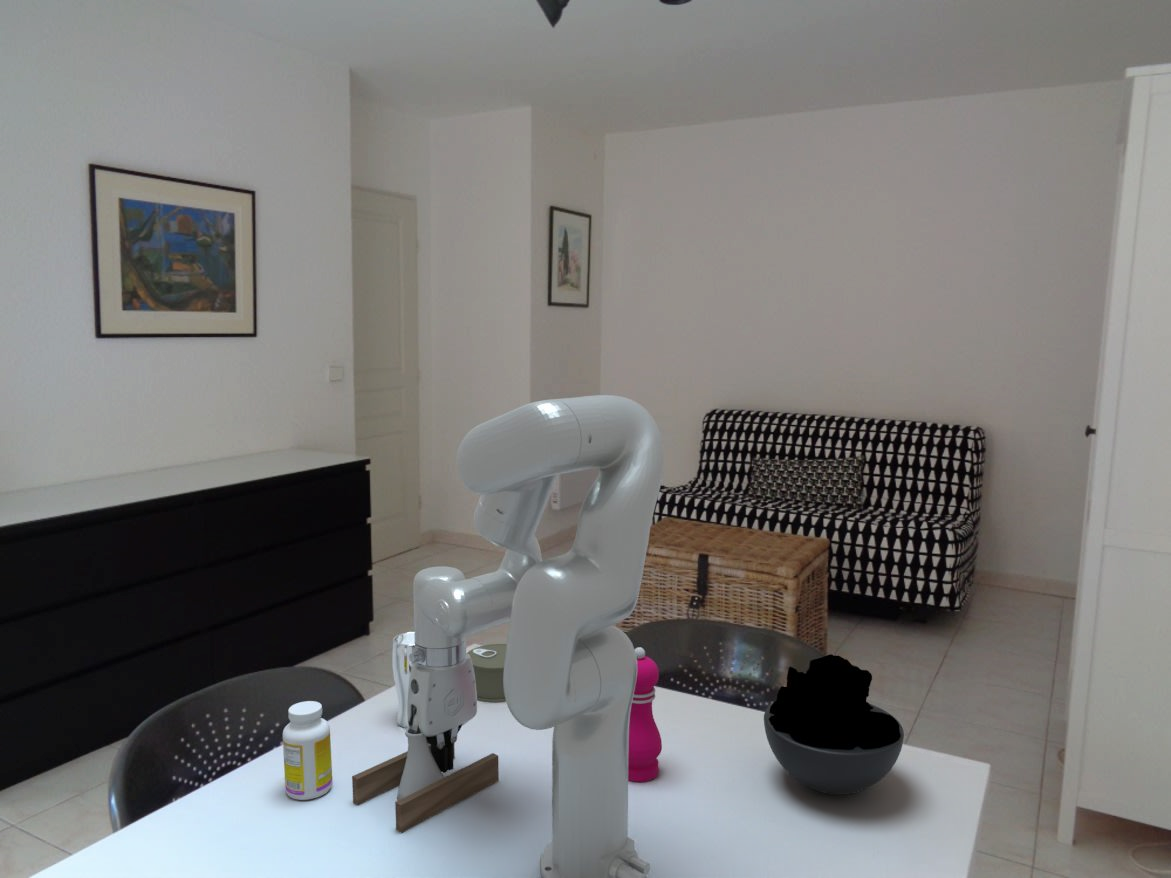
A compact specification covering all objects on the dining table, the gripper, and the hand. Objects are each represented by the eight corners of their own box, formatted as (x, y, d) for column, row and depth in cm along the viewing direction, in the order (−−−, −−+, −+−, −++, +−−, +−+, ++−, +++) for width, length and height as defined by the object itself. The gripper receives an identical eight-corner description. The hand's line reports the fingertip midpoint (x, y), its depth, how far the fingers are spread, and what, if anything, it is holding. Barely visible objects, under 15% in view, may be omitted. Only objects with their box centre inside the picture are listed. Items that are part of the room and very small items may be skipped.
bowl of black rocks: (895, 761, 135) (901, 647, 133) (906, 833, 116) (913, 701, 113) (766, 745, 140) (769, 635, 138) (757, 810, 121) (760, 684, 119)
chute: (498, 780, 129) (498, 755, 129) (401, 832, 116) (400, 805, 115) (449, 755, 137) (449, 732, 136) (353, 802, 123) (352, 776, 123)
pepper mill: (606, 776, 130) (607, 651, 128) (626, 756, 137) (627, 636, 134) (650, 788, 127) (651, 660, 124) (668, 766, 133) (670, 644, 131)
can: (503, 709, 154) (503, 672, 153) (452, 694, 160) (451, 659, 159) (541, 685, 164) (541, 651, 163) (492, 672, 170) (491, 639, 169)
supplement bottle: (332, 775, 131) (328, 695, 129) (333, 797, 124) (330, 714, 123) (285, 782, 129) (282, 701, 127) (284, 805, 122) (280, 720, 121)
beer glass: (390, 716, 151) (387, 634, 149) (428, 708, 153) (427, 628, 152) (398, 733, 144) (396, 647, 142) (439, 725, 147) (437, 641, 145)
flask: (435, 808, 121) (429, 744, 119) (388, 803, 123) (382, 740, 121) (454, 779, 128) (449, 718, 126) (409, 775, 130) (403, 714, 128)
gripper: (414, 673, 118) (417, 797, 120) (495, 644, 129) (496, 758, 131) (383, 659, 123) (386, 778, 125) (463, 632, 134) (464, 742, 136)
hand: (442, 767), depth 128 cm, fingers closed
